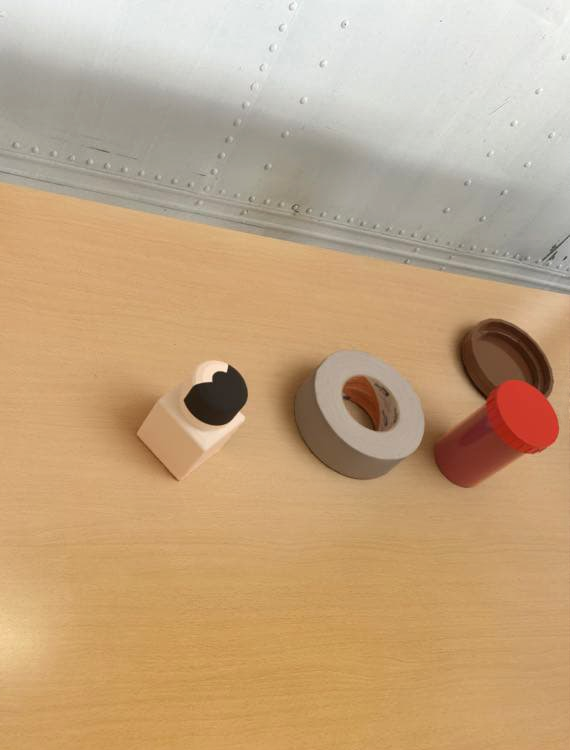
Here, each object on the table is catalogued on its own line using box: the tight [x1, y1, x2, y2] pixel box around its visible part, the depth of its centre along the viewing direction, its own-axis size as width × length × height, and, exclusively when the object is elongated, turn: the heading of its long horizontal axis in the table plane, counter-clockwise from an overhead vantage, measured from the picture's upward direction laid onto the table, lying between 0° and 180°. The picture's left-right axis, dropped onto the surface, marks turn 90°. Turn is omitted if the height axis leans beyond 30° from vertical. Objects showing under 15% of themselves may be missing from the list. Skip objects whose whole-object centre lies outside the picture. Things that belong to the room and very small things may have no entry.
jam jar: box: [433, 402, 527, 489], centre depth 97 cm, size 8×8×12 cm
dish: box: [461, 317, 555, 399], centre depth 111 cm, size 14×14×3 cm
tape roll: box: [293, 349, 426, 480], centre depth 95 cm, size 15×15×5 cm
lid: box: [485, 380, 560, 455], centre depth 92 cm, size 9×9×2 cm
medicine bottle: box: [136, 359, 249, 482], centre depth 81 cm, size 7×7×12 cm
